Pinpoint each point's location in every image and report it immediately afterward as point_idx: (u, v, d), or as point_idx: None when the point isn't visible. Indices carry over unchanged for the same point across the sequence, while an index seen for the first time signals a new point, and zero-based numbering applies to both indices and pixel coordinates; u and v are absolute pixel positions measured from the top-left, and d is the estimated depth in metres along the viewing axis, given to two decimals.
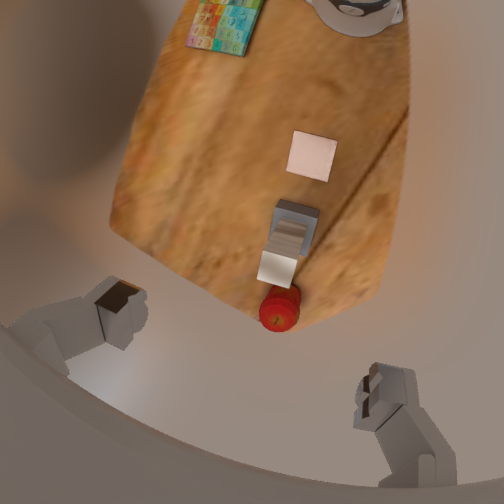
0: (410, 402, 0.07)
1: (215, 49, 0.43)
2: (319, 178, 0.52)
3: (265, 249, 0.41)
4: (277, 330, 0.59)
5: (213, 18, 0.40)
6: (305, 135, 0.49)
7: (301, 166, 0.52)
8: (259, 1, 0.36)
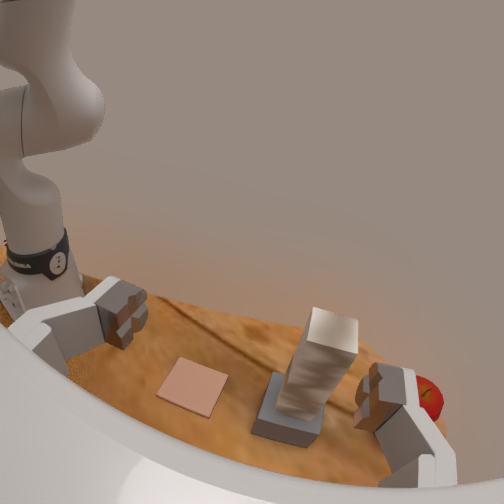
0: (410, 402, 0.07)
1: None
2: (223, 382, 0.40)
3: (305, 341, 0.25)
4: (438, 391, 0.30)
5: None
6: (165, 384, 0.37)
7: (205, 398, 0.37)
8: None
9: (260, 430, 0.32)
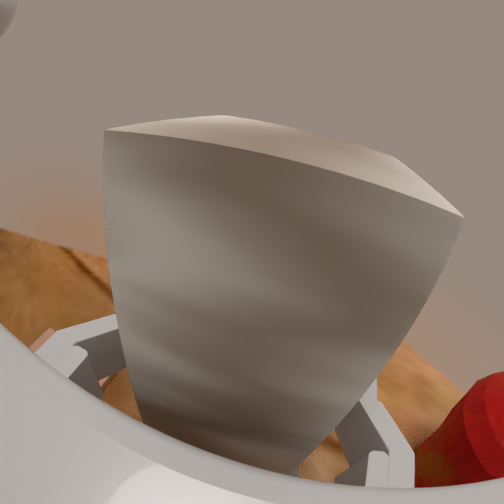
0: (366, 394, 0.07)
1: None
2: (102, 379, 0.18)
3: None
4: None
5: None
6: None
7: None
8: None
9: None
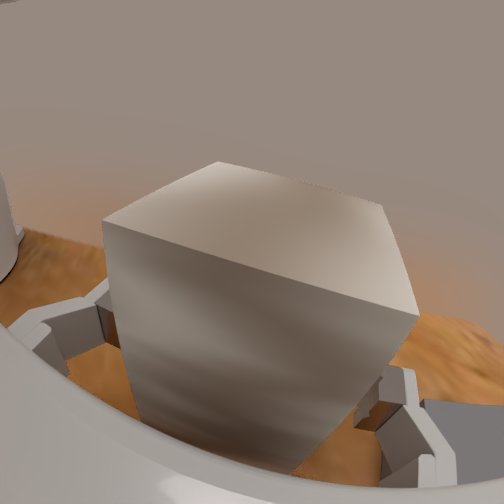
0: (410, 402, 0.07)
1: None
2: None
3: None
4: None
5: None
6: None
7: None
8: None
9: None
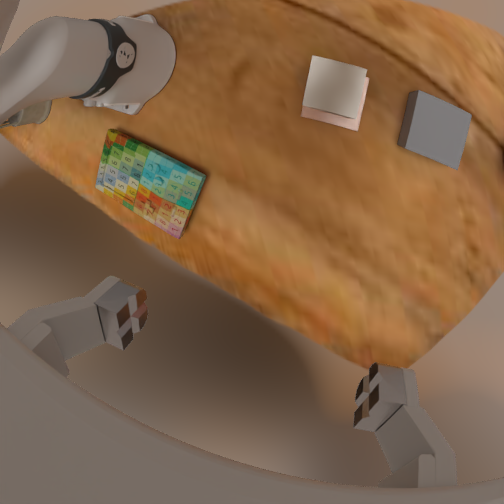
0: (410, 402, 0.07)
1: (189, 205, 0.44)
2: (365, 87, 0.32)
3: (303, 102, 0.24)
4: None
5: (152, 200, 0.45)
6: None
7: None
8: (141, 146, 0.42)
9: None
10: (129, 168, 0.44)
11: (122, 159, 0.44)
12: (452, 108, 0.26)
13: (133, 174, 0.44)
